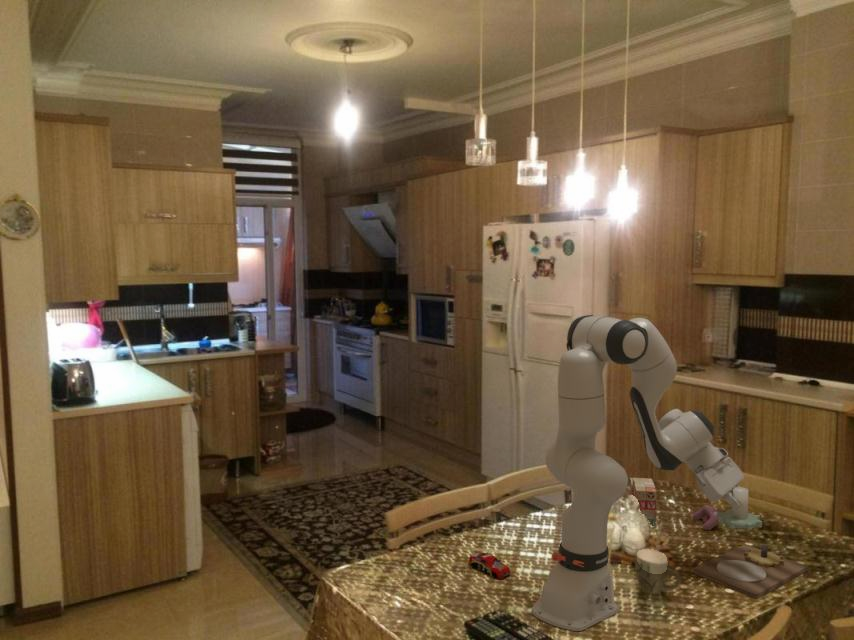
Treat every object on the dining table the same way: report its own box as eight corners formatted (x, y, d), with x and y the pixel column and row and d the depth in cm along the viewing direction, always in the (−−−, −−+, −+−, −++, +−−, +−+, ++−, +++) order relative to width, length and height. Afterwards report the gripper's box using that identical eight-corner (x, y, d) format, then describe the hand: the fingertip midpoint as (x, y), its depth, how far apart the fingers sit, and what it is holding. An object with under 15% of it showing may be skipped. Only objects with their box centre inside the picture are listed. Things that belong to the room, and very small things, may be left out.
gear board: (756, 599, 175) (757, 578, 175) (692, 572, 190) (692, 553, 189) (807, 570, 190) (808, 551, 190) (744, 548, 205) (745, 530, 204)
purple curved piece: (715, 535, 218) (725, 516, 217) (702, 529, 218) (713, 510, 217) (702, 523, 228) (712, 504, 227) (690, 517, 227) (700, 498, 227)
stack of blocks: (629, 503, 242) (629, 468, 241) (648, 504, 241) (648, 469, 240) (635, 527, 221) (636, 489, 220) (656, 528, 220) (656, 490, 219)
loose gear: (754, 533, 179) (756, 499, 178) (711, 523, 186) (711, 490, 185) (767, 520, 187) (768, 488, 186) (724, 511, 195) (725, 479, 194)
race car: (514, 576, 189) (514, 562, 189) (499, 582, 186) (500, 568, 185) (480, 560, 199) (480, 546, 199) (466, 565, 196) (466, 551, 196)
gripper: (700, 465, 182) (739, 510, 176) (726, 447, 197) (762, 488, 192) (683, 478, 185) (720, 522, 180) (710, 459, 201) (745, 500, 195)
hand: (742, 504), depth 186 cm, fingers closed on loose gear, 4 cm apart
